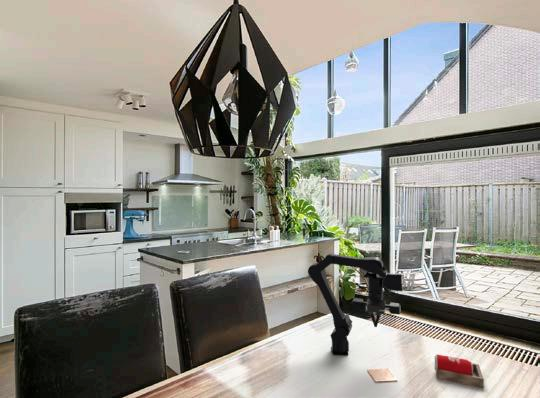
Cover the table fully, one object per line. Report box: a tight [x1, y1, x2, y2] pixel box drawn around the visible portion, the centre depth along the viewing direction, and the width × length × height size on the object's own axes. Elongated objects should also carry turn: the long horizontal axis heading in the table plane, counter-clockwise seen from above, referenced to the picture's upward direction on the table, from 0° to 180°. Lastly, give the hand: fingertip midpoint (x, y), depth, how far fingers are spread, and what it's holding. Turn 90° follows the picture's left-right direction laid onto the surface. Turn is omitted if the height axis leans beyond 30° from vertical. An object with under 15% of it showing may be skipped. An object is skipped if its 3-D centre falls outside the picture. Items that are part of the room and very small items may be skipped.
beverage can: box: [434, 354, 473, 376], centre depth 120 cm, size 6×6×12 cm
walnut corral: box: [435, 362, 485, 389], centre depth 120 cm, size 14×11×3 cm
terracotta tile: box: [367, 368, 398, 384], centre depth 120 cm, size 8×8×1 cm
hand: (375, 326), depth 133 cm, fingers closed
